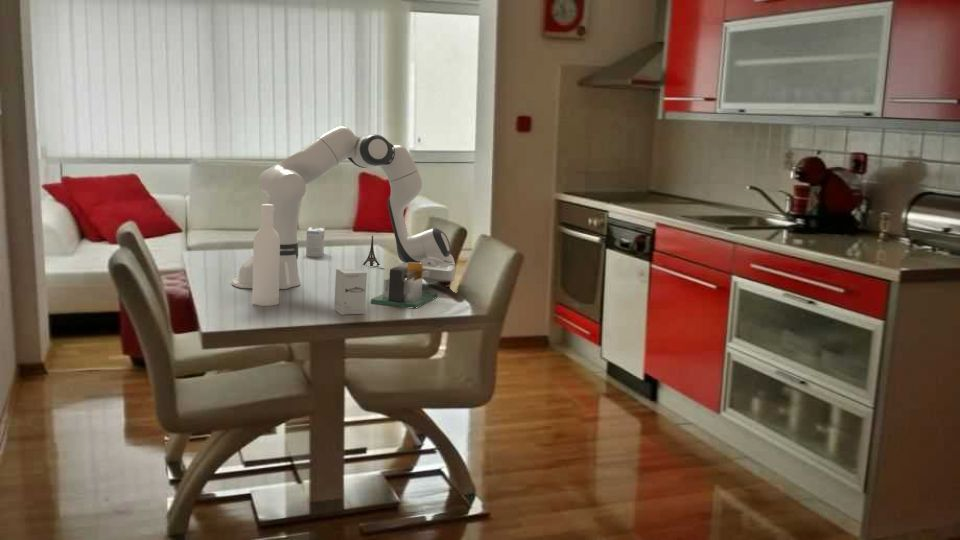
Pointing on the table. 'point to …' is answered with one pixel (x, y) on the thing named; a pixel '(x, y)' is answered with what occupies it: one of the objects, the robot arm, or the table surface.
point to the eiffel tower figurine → (372, 258)
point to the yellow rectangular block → (414, 270)
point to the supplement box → (350, 291)
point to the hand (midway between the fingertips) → (418, 274)
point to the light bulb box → (315, 242)
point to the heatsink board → (403, 290)
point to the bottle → (266, 260)
